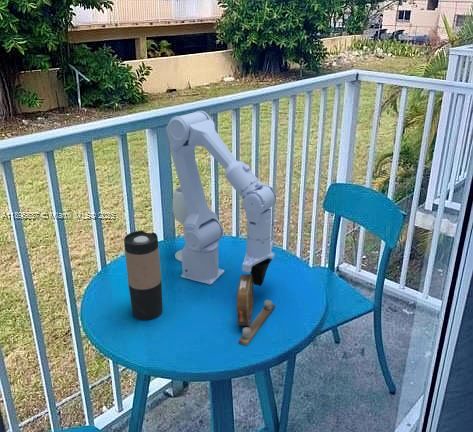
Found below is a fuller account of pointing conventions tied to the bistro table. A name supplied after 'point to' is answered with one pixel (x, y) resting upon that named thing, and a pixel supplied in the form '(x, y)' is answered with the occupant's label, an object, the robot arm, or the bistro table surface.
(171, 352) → the bistro table surface
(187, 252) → the robot arm
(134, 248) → the travel mug
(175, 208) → the wineglass
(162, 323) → the bistro table surface
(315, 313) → the bistro table surface
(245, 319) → the tin
